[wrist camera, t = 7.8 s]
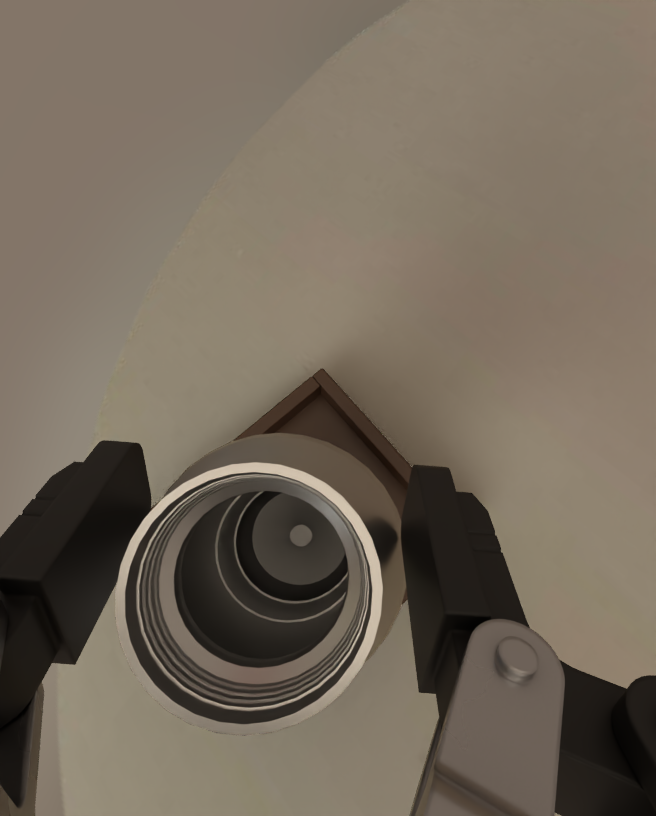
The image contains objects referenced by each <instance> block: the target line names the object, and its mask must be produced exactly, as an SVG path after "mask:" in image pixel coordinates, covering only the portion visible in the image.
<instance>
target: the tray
mask: <svg viewBox="0 0 656 816" xmlns="http://www.w3.org/2000/svg"><path fill="white" fill-rule="evenodd" d="M272 433H287V434H297V435H305V436H309V437H312V438H316V439H319V440H322V441H326V442H328V443H330V444H332V445H334V446H336V447H338V448H340V449H342V450H344V451H346V452H348V453H350V454H351V455H352V456H353V457H355V458H356V459H357V460H359V461H360V462H361V463H362V464H364V465H365V466H366V467H367V468H369V470H370V471H371V472H372V473H373V474H374V475H375V476H376V478H377V479H378V480H379V481H380V482H381V483H382V484H383V486H384V487H385V489H386V490H387V492H388V494H389V496H390V497H391V499H392V501H393V502H394V504H395V506H396V508H397V510H398V513H399V516H400V519H402V513H403V508H404V503H405V499H406V494H407V489H408V484H409V479H410V474H411V470H412V467H411V466H410V465H409V464H408V463H407V461H406V460H405V459H404V458H403V457H402V456H401V455H400V454H399V453H398V451H397V450H396V449H395V448H394V447H393V446H392V445H391V444H390V443H389V441H388V440H387V439H386V438H385V437H384V436H383V435H382V434H381V433H380V431H379V430H378V429H377V428H376V427H375V426H374V425H373V424H372V423H371V421H370V420H369V419H368V418H367V417H366V416H365V415H364V414H363V413H362V411H361V410H360V409H359V408H358V407H357V406H356V405H355V404H354V403H353V401H352V400H351V399H350V398H349V397H348V396H347V395H346V394H345V393H344V391H343V390H342V389H341V388H340V387H339V386H338V385H337V384H336V383H335V381H334V380H333V379H332V378H331V377H330V376H329V375H328V374H327V373H326V371H325V370H324V369H320V370H319V371H318V372H316V373H315V374H314V375H313V377H310V378H309V379H308V380H307V381H305V382H304V383H303V384H302V385H300V386H299V387H298V388H297V389H296V390H294V391H293V392H292V393H291V394H289V395H288V396H287V397H286V398H285V399H283V400H282V401H281V402H280V403H279V404H277V405H276V406H275V407H274V408H272V409H271V410H270V411H269V412H268V413H266V414H265V415H264V416H263V417H262V418H260V419H259V420H258V421H257V422H255V423H254V424H253V425H252V426H251V427H249V428H248V429H247V430H246V431H244V432H243V433H242V434H241V435H240V436H238V437H237V438H236V439H235V440H239V439H243V438H246V437H250V436H253V435H260V434H272ZM235 440H234V441H235ZM159 502H160V501H159ZM159 502H158V503H159ZM158 503H157V504H158ZM157 504H156V505H157ZM156 505H154V506H153V507H152V508H151V509H150V512H151V511H152V509H153V508H154V507H155V506H156ZM407 599H408V597H407V589H405V593H404V597H403V601H402V604H403V603H404V602H405V601H406V600H407Z"/></svg>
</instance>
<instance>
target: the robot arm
mask: <svg viewBox="0 0 656 816" xmlns="http://www.w3.org/2000/svg"><path fill="white" fill-rule="evenodd" d="M150 509H151V492H150V487H149V482H148V476H147V471H146V465H145V460H144V454H143V450H142V447H141V445H140V444H139V443H131V442H118V441H101V442H99V443H98V444H97V446H96V447H95V448H94V449H93V451H92V452H91V453H90V454H89V456H88V457H87V458H86V460H85V461H84V462H73V463H72V464H70V465H69V466H67V467H66V468H64V469H62V470H61V471H59V472H58V473H56V474H55V475H53V476H52V477H51V478H50V479H49V480H48V481H47V483H46V484H45V485H44V486H43V488H42V489H41V490H40V491H39V492H38V493H37V494H36V498H35V499H32V500H31V502H30V503H29V504H28V505H27V506H26V508H25V509H24V510H23V514H22V515H19V516H18V517H17V518H16V519H15V521H14V522H13V523H12V524H11V525H10V527H9V528H8V529H7V530H6V531H5V533H4V534H3V535H2V536H1V537H0V816H35V801H36V789H37V776H38V763H39V750H40V738H41V726H42V713H43V700H44V689H43V684H42V680H43V678H44V676H45V674H46V672H47V671H48V669H49V667H50V665H51V663H61V664H74V665H75V664H76V662H77V660H78V658H79V656H80V654H81V652H82V650H83V648H84V646H85V644H86V642H87V640H88V638H89V636H90V634H91V632H92V630H93V628H94V626H95V624H96V622H97V620H98V618H99V616H100V614H101V612H102V610H103V608H104V606H105V604H106V602H107V600H108V598H109V596H110V594H111V593H112V591H113V589H114V587H115V585H116V583H117V581H118V576H119V570H120V565H121V563H122V560H123V558H124V555H125V553H126V550H127V548H128V545H129V543H130V540H131V539H132V537H133V535H134V534H135V532H136V531H137V529H138V528H139V526H140V524H141V523H142V521H143V520H144V518H145V517H146V516H147V515H148V514H149V513H150ZM401 547H402V556H403V564H404V572H405V580H406V589H407V597H408V605H409V614H410V622H411V630H412V639H413V647H414V655H415V664H416V672H417V680H418V689H419V692H420V693H433V694H436V698H437V704H438V711H439V719H438V722H437V724H436V727H435V730H434V734H433V737H432V741H431V744H430V747H429V751H428V754H427V758H426V761H425V764H424V768H423V771H422V774H421V778H420V781H419V785H418V788H417V791H416V795H415V798H414V802H413V805H412V808H411V812H410V815H409V816H554V812H555V813H557V814H560V815H562V816H656V676H643V677H640V678H638V679H636V680H635V681H633V682H632V683H631V684H630V686H629V687H628V688H627V689H626V688H623V687H621V686H618V685H615V684H613V683H610V682H608V681H605V680H603V679H600V678H597V677H595V676H592V675H590V674H587V673H584V672H582V671H579V670H577V669H575V668H573V667H571V666H569V665H567V664H566V663H564V662H562V661H561V660H559V659H558V657H557V655H556V653H555V652H554V650H553V649H552V648H551V646H550V645H549V644H548V643H547V642H546V641H545V640H544V639H543V638H542V637H541V636H540V635H539V634H537V633H536V632H534V631H533V630H532V629H530V627H529V625H528V623H527V620H526V618H525V615H524V612H523V609H522V607H521V604H520V601H519V598H518V595H517V592H516V590H515V587H514V584H513V581H512V578H511V575H510V573H509V570H508V567H507V564H506V561H505V558H504V556H503V553H501V547H500V544H499V541H498V539H497V536H495V530H494V527H493V524H492V522H491V519H490V516H489V513H488V511H487V510H486V509H485V507H484V506H483V505H482V504H481V503H480V502H479V500H478V499H477V498H476V497H475V496H474V495H473V494H472V493H466V492H456V489H455V486H454V482H453V479H452V475H451V472H450V470H449V468H447V467H436V466H423V465H414V466H413V467H412V470H411V474H410V479H409V484H408V489H407V494H406V499H405V503H404V508H403V513H402V519H401Z"/></svg>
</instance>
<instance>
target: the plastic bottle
mask: <svg viewBox="0 0 656 816" xmlns="http://www.w3.org/2000/svg"><path fill="white" fill-rule="evenodd" d="M405 589H406V580H405V572H404V564H403V556H402V547H401V519H400V516H399V513H398V510H397V508H396V506H395V504H394V502H393V501H392V499H391V497H390V496H389V494H388V492H387V490H386V489H385V487H384V486H383V484H382V483H381V482H380V481H379V480H378V479H377V478H376V476H375V475H374V474H373V473H372V472H371V471H370V470H369V468H367V467H366V466H365V465H364V464H362V463H361V462H360V461H359V460H357V459H356V458H355V457H353V456H352V455H351V454H350V453H348V452H346V451H344V450H342V449H340V448H338V447H336V446H334V445H332V444H330V443H328V442H326V441H322V440H319V439H316V438H312V437H309V436H305V435H297V434H287V433H272V434H260V435H253V436H250V437H246V438H243V439H239V440H235V441H232V442H230V443H228V444H226V445H223V446H221V447H219V448H217V449H215V450H213V451H211V452H209V453H208V454H206V455H205V456H204V457H202V458H201V459H200V460H198V461H197V462H196V463H194V464H193V465H192V466H190V467H189V468H188V469H187V470H186V471H185V472H184V473H183V474H182V475H181V476H180V477H179V479H178V480H177V481H176V482H175V483H174V484H173V485H172V486H171V487H170V488H169V489H168V491H167V492H166V494H165V495H164V497H163V499H162V500H161V501H160V502H159V503H158V504H157V505H156V506H155V507H154V508H153V509H152V511H151V512H150V513H149V514H148V515H147V516H146V517H145V518H144V520H143V521H142V523H141V524H140V526H139V528H138V529H137V531H136V532H135V534H134V535H133V537H132V539H131V540H130V543H129V545H128V548H127V550H126V553H125V555H124V558H123V560H122V563H121V565H120V570H119V576H118V581H117V586H116V591H115V619H116V624H117V629H118V634H119V639H120V644H121V647H122V649H123V652H124V654H125V656H126V659H127V661H128V663H129V666H130V668H131V670H132V672H133V673H134V675H135V676H136V677H137V679H138V680H139V682H140V683H141V685H142V686H143V687H144V689H145V690H146V692H147V693H148V694H149V695H150V696H151V697H153V698H154V699H155V700H156V701H157V702H158V703H159V704H160V705H161V706H162V707H163V708H164V709H165V710H167V711H168V712H170V713H172V714H173V715H175V716H177V717H178V718H180V719H182V720H184V721H185V722H187V723H189V724H190V725H193V726H197V727H200V728H203V729H206V730H209V731H212V732H215V733H222V734H232V735H242V736H246V735H255V734H263V733H272V732H275V731H278V730H281V729H284V728H287V727H290V726H293V725H296V724H299V723H301V722H302V721H304V720H306V719H307V718H309V717H311V716H313V715H314V714H316V713H318V712H319V711H321V710H323V709H324V708H325V707H326V706H328V705H329V704H330V703H331V702H332V701H333V700H334V699H335V698H336V697H338V696H339V695H340V694H341V693H342V692H343V691H344V690H345V689H346V688H347V686H348V685H349V684H350V682H351V681H352V680H353V678H354V677H355V676H356V674H357V673H358V672H359V670H360V669H361V668H362V666H363V664H364V662H366V661H367V660H368V659H369V658H370V657H371V656H372V655H373V654H374V652H375V651H376V650H377V648H378V647H379V646H380V644H381V643H382V642H383V640H384V639H385V638H386V636H387V635H388V634H389V632H390V630H391V628H392V626H393V623H394V621H395V619H396V617H397V615H398V613H399V611H400V608H401V605H402V601H403V597H404V593H405Z"/></svg>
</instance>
